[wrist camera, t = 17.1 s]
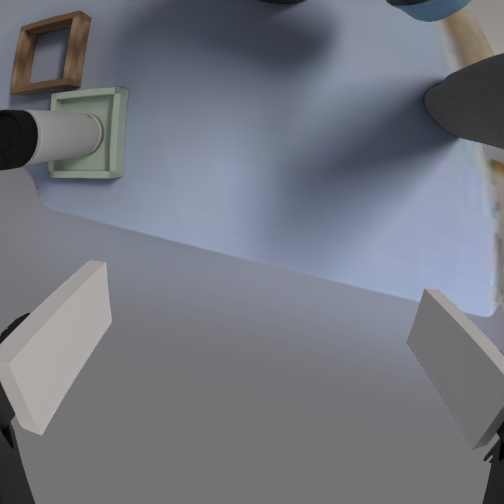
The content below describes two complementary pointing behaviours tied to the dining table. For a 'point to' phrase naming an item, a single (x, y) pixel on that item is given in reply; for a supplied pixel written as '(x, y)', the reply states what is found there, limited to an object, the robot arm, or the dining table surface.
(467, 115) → the vase
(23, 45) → the holder
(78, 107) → the tray
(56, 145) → the travel mug
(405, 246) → the dining table surface
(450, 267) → the dining table surface
